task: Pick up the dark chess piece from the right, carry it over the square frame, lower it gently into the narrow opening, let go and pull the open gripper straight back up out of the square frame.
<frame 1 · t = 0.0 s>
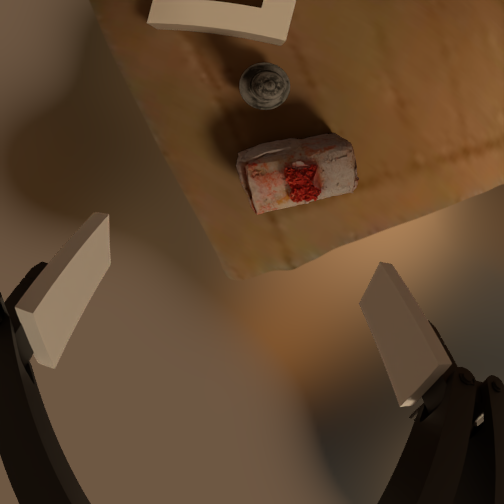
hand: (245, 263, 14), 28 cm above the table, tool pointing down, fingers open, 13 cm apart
food item: (291, 159, 39), on the table
dark chess piece: (262, 86, 34), on the table
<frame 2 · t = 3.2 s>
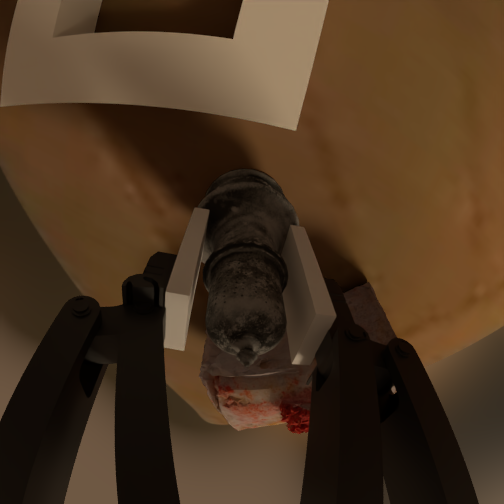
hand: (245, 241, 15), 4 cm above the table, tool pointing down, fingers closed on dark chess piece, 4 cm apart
food item: (295, 319, 25), on the table
dark chess piece: (244, 207, 19), on the table, touching gripper
when the fingers open (5 cm above the table, at t = 8.8 s): dark chess piece drops 1 cm, resting in square frame.
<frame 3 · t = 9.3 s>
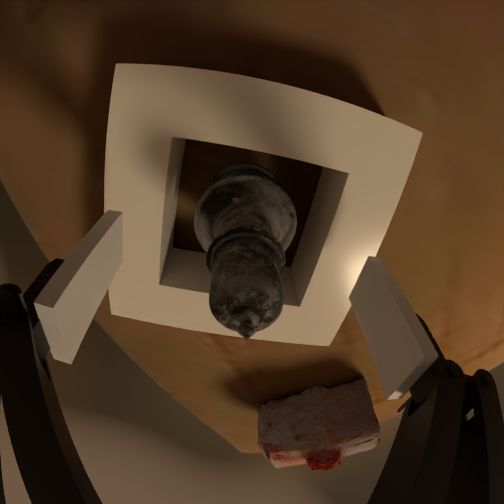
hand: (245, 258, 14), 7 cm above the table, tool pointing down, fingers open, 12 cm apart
food item: (314, 397, 34), on the table
dark chess piece: (245, 200, 20), resting in square frame
square frame: (244, 201, 20), on the table
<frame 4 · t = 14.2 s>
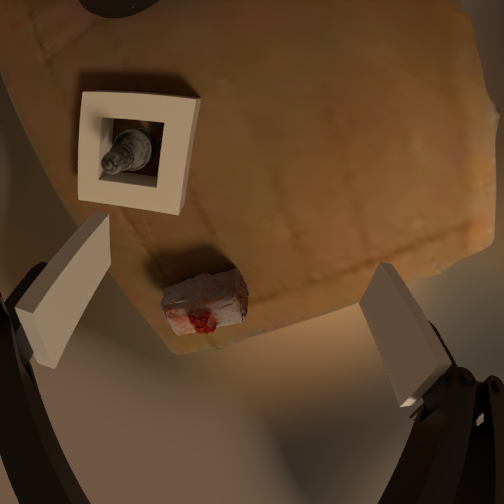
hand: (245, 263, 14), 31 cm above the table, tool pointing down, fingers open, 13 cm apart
food item: (207, 285, 53), on the table
dark chess piece: (139, 144, 40), resting in square frame
square frame: (139, 145, 39), on the table
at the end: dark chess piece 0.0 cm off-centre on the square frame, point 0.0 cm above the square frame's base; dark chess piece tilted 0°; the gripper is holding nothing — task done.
